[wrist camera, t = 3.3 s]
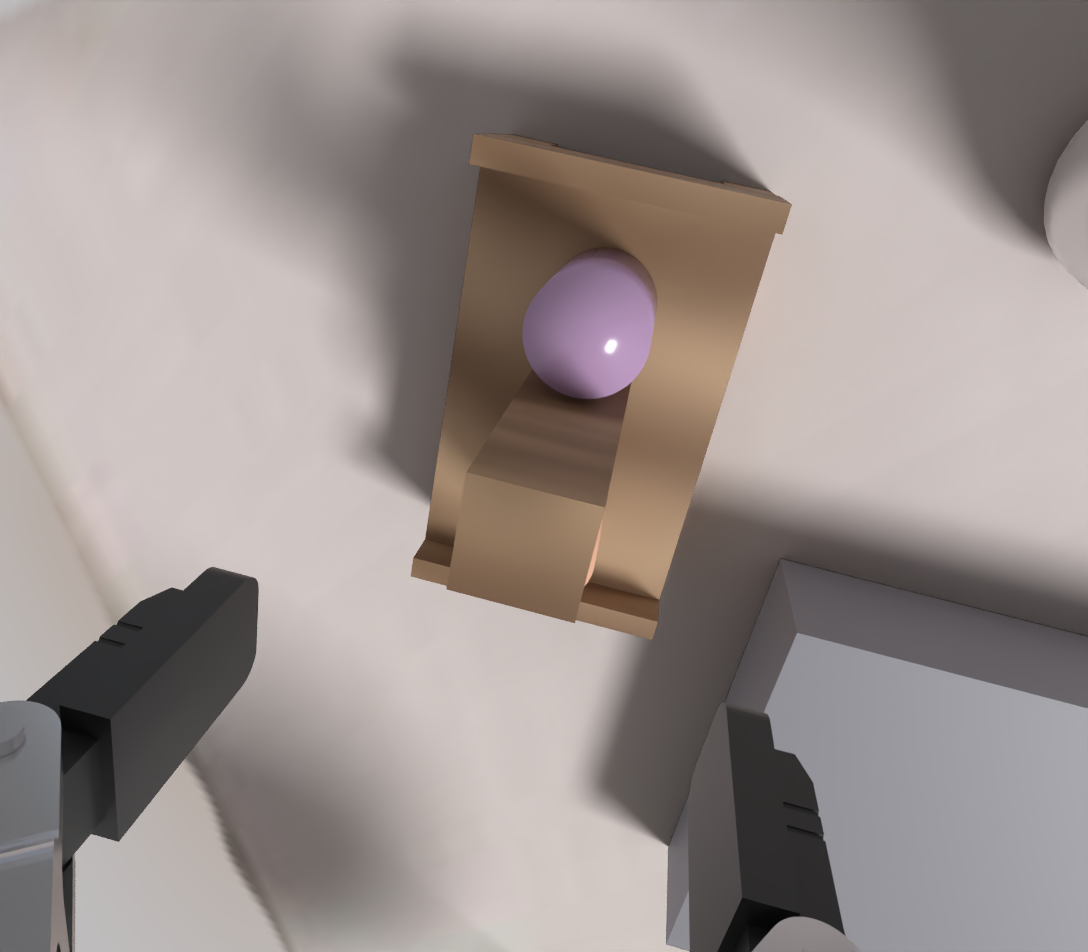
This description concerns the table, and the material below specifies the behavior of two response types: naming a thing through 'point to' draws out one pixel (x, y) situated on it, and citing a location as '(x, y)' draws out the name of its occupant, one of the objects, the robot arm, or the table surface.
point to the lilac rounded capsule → (592, 324)
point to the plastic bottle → (1070, 207)
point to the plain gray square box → (925, 763)
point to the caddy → (586, 424)
